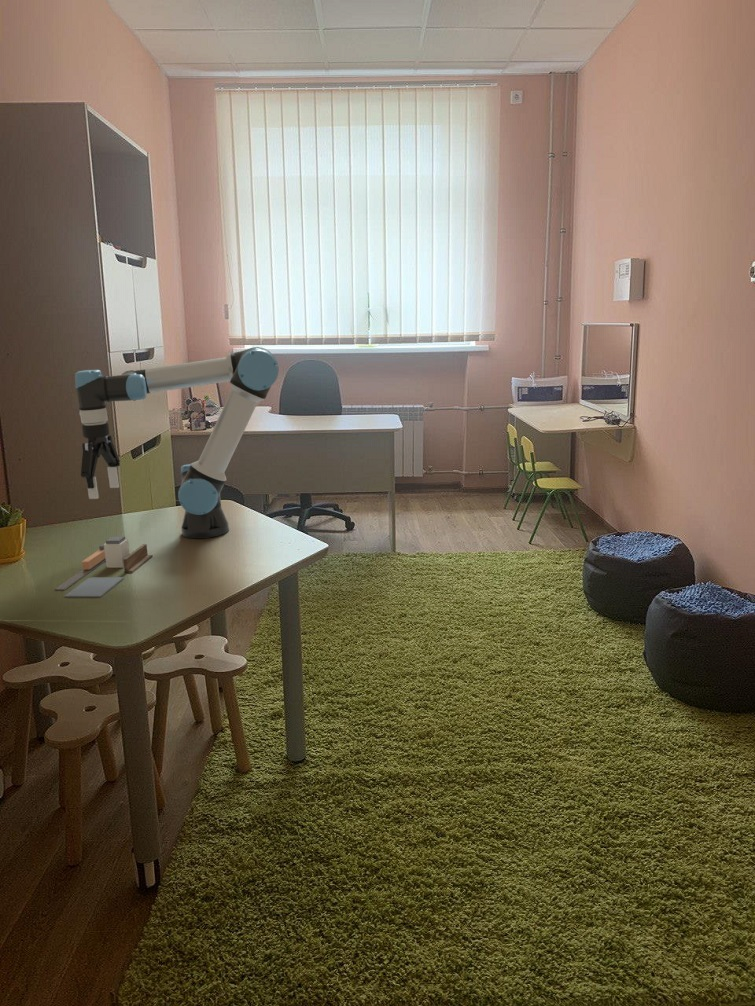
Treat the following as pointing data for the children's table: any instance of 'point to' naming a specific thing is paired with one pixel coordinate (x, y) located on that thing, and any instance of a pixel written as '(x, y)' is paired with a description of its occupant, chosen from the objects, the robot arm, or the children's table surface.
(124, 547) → the plug block
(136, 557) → the fence
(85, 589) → the felt mat
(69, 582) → the track
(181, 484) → the robot arm
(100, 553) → the bar
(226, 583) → the children's table surface
